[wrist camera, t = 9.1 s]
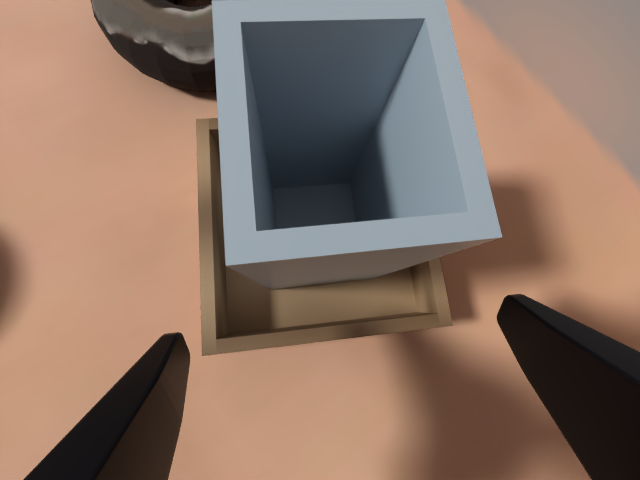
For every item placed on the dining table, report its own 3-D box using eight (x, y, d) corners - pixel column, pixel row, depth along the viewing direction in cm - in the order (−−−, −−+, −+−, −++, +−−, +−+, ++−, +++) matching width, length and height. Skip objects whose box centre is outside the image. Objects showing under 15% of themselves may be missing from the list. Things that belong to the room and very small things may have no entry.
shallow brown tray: (425, 321, 17) (452, 325, 14) (219, 346, 15) (202, 355, 13) (394, 138, 19) (412, 109, 16) (212, 148, 18) (196, 119, 15)
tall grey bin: (372, 278, 16) (501, 237, 6) (271, 289, 16) (225, 265, 5) (357, 176, 17) (443, -3, 7) (262, 183, 17) (211, 0, 7)
